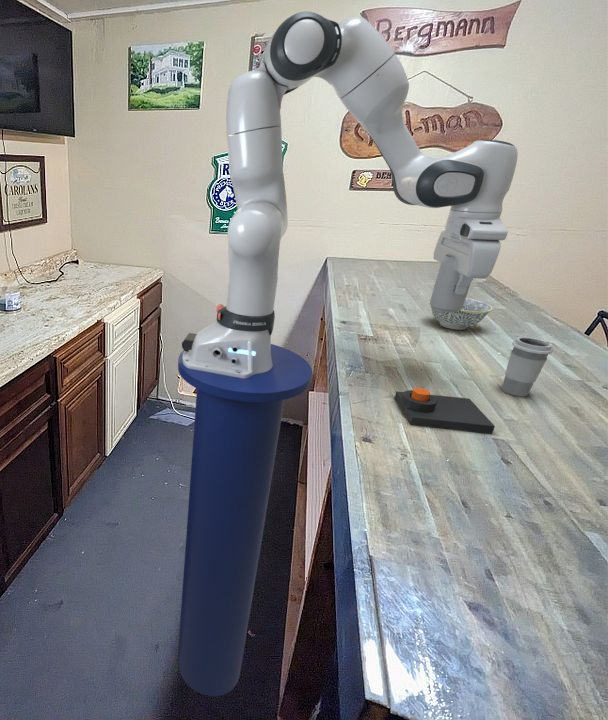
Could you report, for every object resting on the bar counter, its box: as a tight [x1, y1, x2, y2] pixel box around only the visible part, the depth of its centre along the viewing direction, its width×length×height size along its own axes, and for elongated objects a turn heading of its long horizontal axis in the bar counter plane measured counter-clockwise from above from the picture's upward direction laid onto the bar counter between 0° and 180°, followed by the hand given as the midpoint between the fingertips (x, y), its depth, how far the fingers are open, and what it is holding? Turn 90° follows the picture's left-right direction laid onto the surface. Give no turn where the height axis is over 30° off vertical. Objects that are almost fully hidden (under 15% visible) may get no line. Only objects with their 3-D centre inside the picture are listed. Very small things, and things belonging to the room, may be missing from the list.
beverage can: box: [429, 254, 472, 312], centre depth 101 cm, size 6×6×12 cm
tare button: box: [411, 387, 431, 402], centre depth 92 cm, size 3×3×2 cm
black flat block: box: [394, 389, 496, 434], centre depth 92 cm, size 14×11×4 cm
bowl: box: [428, 297, 493, 331], centre depth 139 cm, size 16×16×8 cm
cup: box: [501, 336, 554, 397], centre depth 99 cm, size 7×7×12 cm
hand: (451, 288), depth 102 cm, fingers closed on beverage can, 6 cm apart
